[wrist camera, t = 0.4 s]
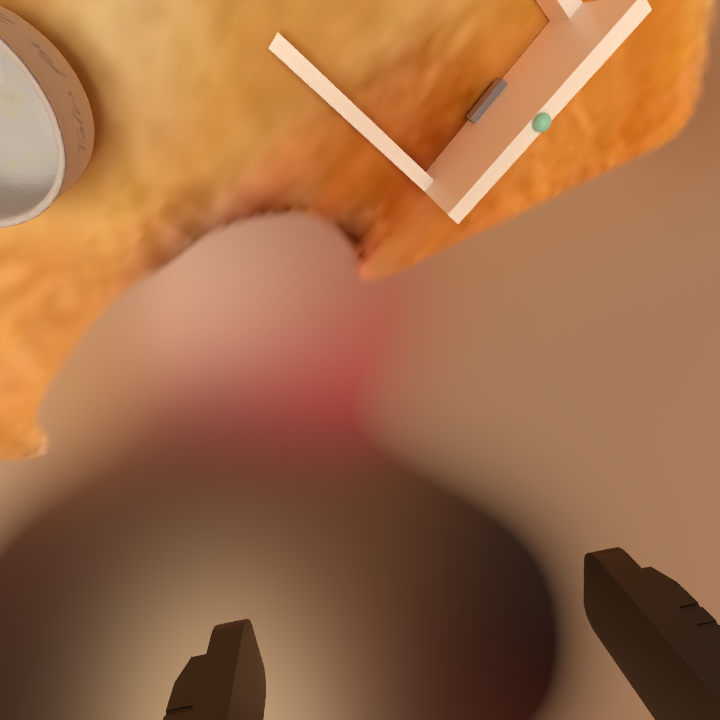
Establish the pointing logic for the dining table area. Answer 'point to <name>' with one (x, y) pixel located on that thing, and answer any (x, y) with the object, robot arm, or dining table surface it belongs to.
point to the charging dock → (499, 99)
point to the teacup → (38, 122)
